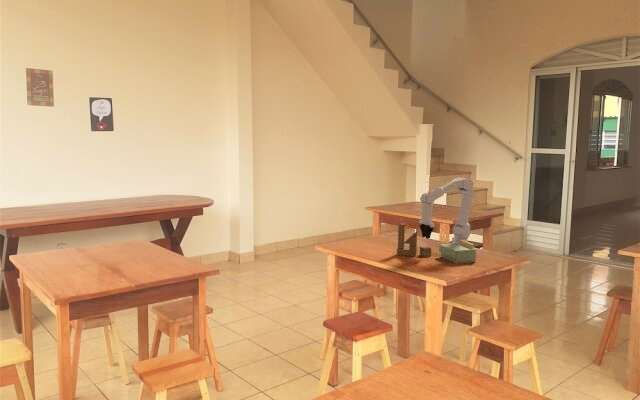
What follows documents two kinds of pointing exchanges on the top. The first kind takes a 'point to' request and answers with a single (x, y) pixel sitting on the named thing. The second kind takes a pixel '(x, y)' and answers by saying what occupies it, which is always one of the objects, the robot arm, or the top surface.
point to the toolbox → (461, 257)
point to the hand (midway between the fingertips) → (426, 237)
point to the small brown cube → (425, 251)
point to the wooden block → (406, 242)
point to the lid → (456, 248)
